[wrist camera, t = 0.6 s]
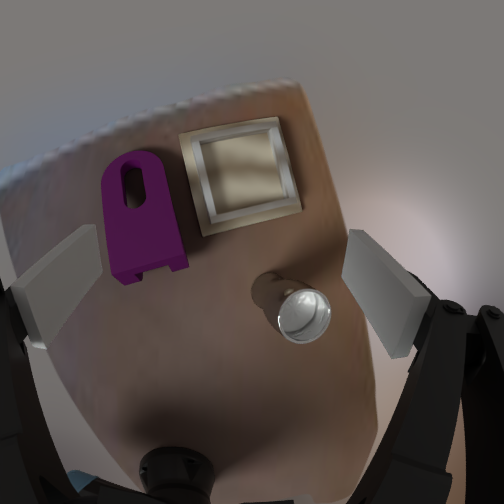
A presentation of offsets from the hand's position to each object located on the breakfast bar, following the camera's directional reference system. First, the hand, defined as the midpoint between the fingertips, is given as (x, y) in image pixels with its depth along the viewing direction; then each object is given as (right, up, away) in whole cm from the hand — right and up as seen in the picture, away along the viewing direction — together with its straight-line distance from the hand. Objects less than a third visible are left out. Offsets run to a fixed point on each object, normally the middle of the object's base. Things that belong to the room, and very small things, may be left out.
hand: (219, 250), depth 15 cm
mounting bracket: (-15, +6, +28) cm, 32 cm away
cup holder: (0, +12, +30) cm, 33 cm away
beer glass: (+4, -6, +33) cm, 34 cm away
